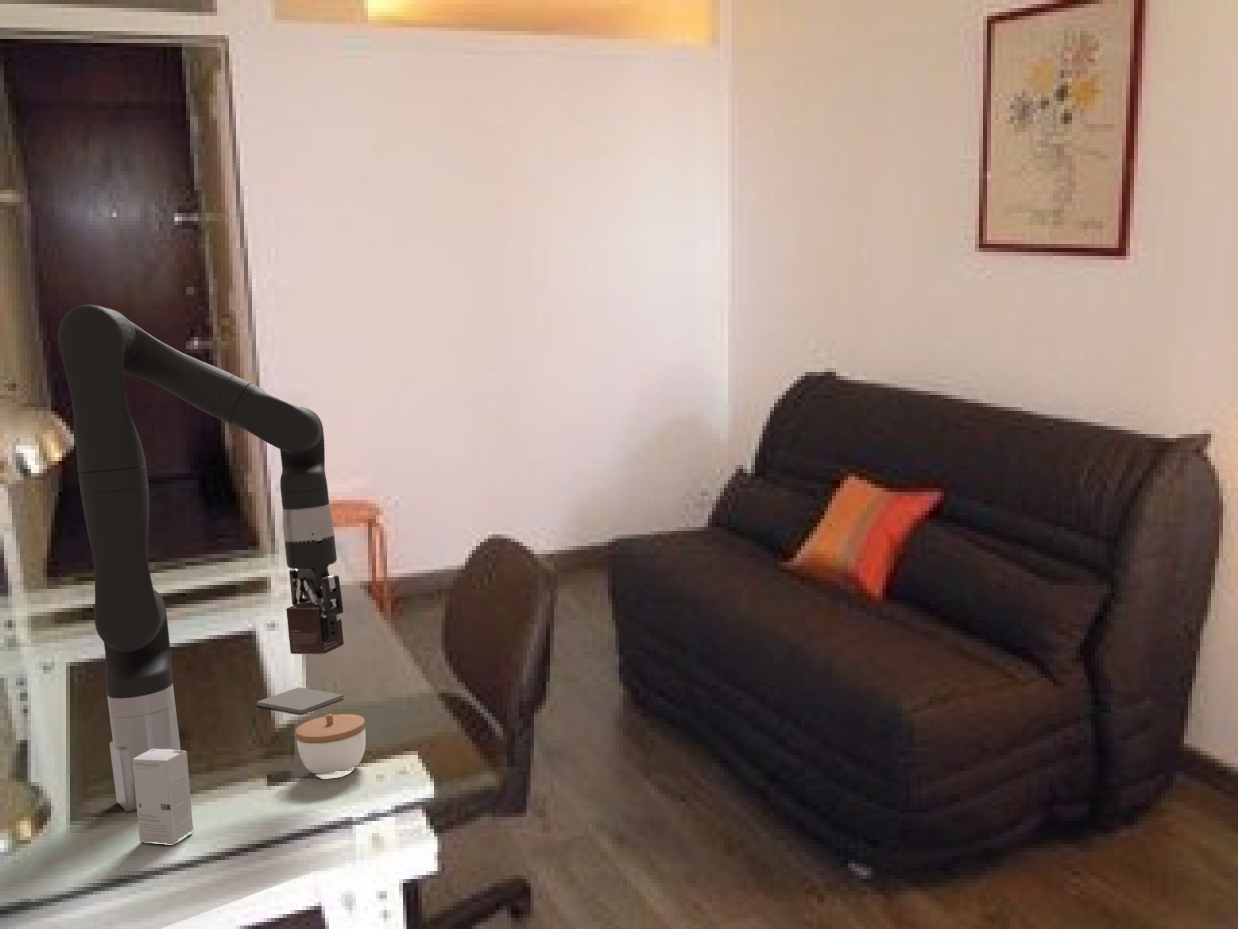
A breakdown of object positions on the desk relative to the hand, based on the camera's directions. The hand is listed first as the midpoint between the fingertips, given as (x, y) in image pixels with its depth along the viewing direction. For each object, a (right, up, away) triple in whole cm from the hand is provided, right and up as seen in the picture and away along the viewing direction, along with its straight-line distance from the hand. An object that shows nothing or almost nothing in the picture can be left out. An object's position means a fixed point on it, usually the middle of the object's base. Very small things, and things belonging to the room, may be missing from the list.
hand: (320, 637), depth 167 cm
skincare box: (-16, -25, -19) cm, 35 cm away
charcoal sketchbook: (-16, -20, +43) cm, 50 cm away
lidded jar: (+2, -22, +2) cm, 22 cm away
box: (0, -2, 0) cm, 2 cm away
